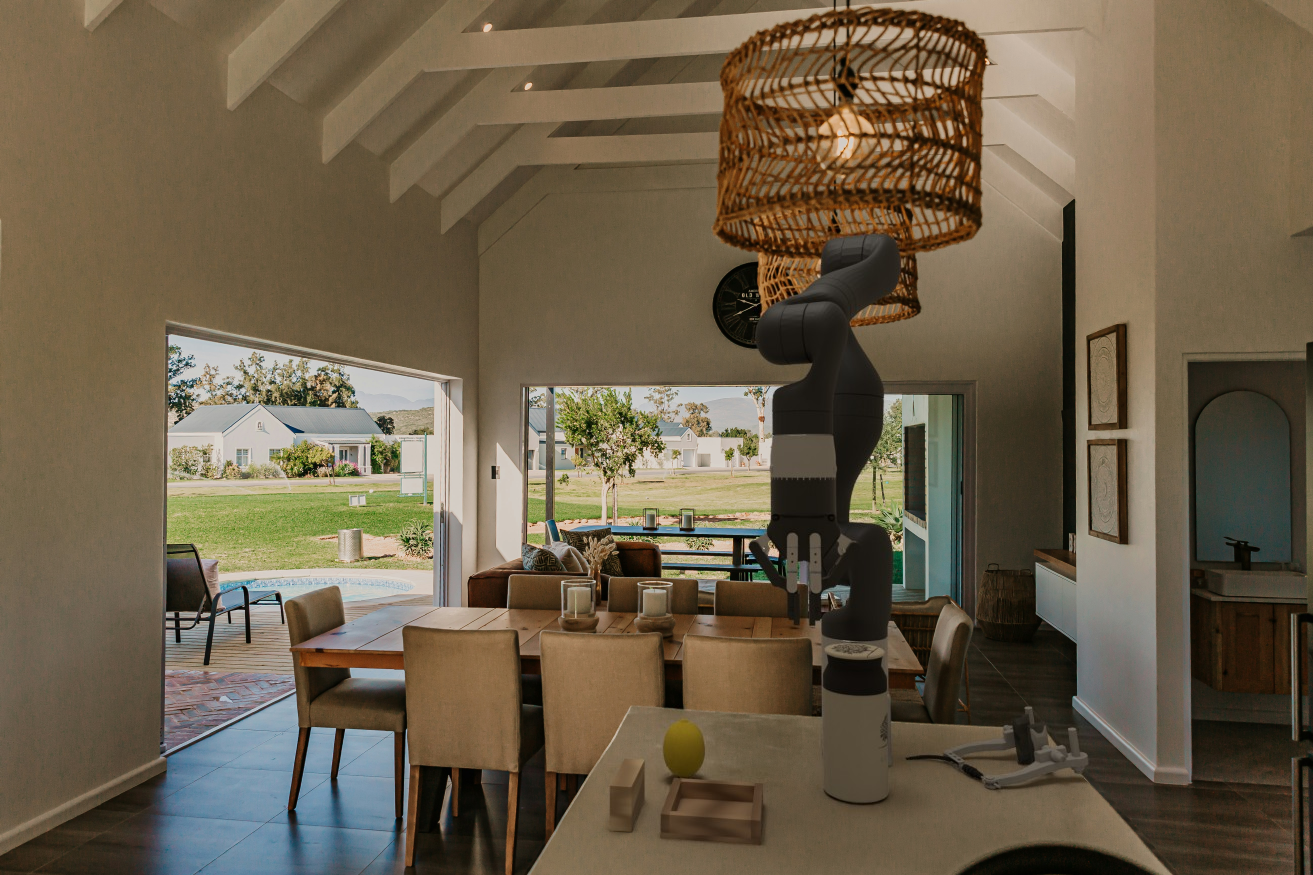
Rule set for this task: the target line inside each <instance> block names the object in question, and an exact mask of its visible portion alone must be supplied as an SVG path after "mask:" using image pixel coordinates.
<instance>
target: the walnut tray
mask: <svg viewBox="0 0 1313 875" xmlns="http://www.w3.org/2000/svg"><path fill="white" fill-rule="evenodd" d="M763 813H764V783H762V782H761V783H760V782H749V781H748V782H747V781H746V782H744V781H732V780H731V781H728V780H713V779H712V780H711V779H698V778H697V779H696V778H694V779H693V778H687V779H682V778H680V777H674V778H673V779H672V782H671V785H670V788H669V791H668V793H667V796H666V799H665V800H664V804H663V806H662V809H661V812H660V839H666V840H667V839H668V840H679V841H682V840H683V841H695V842H709V843H710V842H711V843H712V842H713V843H725V844H737V845H738V844H739V845H741V844H742V845H754V846H755V845H756V846H760V845H761V842H762V841H761V838H762V825H763V823H762V822H763Z"/></svg>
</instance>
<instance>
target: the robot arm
mask: <svg viewBox="0 0 1313 875" xmlns="http://www.w3.org/2000/svg"><path fill="white" fill-rule="evenodd" d="M820 257H821V258H820V277H819V278H817V279H815V280H814V281H813V282H811V284H809V285H808V286H807V287H806V288H805V289H804V290H803V291H802V292H801V293H797V294H795V295H792V296H789V297H787V298H784V299H782V300H779V301H778V302H776V303H773V304H771V305H770V306H769V307H768V308H766V310H765V311H763V313H761V315H760V318H759V320H758V322H757V324H756V329H755V335H754V336H755V337H754V338H755V344H756V349H757V351H758V352H759V354H760V356H761V357H763V359H764V360H766V361H767V362H768V363H771V364H772V365H776V366H791V365H807V364H811V366H810V368H809V371H808V373H807V374H806V376H805V377H804V378H803V379H800V380H798V381H796V382H792V383H787V384H784V385H782V386H779V387H777V388H776V389H775V390H774V392H773V393H772V401H771V405H772V406H771V407H772V408H771V410H772V411H771V413H772V415H771V416H772V419H771V422H772V423H771V424H772V426H771V427H772V428H771V429H772V437H771V448H770V458H769V459H770V460H769V462H770V465H769V473H770V474H769V475H770V477H769V478H770V521H769V523H768V525H767V526H766V532H765V533H763V534H762V535H760V536H759V537H758V538H756V539H752V540H749V541H750V542H749V543H748V546H747V547H748V550H749V551H750V553H751V554H752V557H754V559H755V561H756V562H757V564H758V565H759V567H760V569H761V570H762V571H763V573H764V575H765V576H766V578H767V580H768V581H769V582H770V584H771V585H772V587H773V588H774V587H775V588H779V589H782V590H784V591H785V592H786V596H787V597H786V598H787V599H786V600H787V603H786V604H787V607H786V610H787V612H786V613H787V618H788V621H793V626H801V621H800V620H801V618H800V617H801V614H800V612H801V609H800V603H801V601H800V599H801V598H800V595H801V594H800V591H799V587H798V573H799V572H798V569H799V567H798V565H799V563H800V562H807V563H809V586H810V587H809V590H808V627H809V626H810V627H816V622H819V621H820V623H821V624H820V628H821V629H820V630H821V631H820V633H821V643H820V644H821V648H820V649H821V746H822V749H821V750H822V756H823V672H824V670H825V668H826V666H827V664H828V659H827V654H826V653H825V651H824V649H825V648H826V647H827V646H829V645H833V644H843V643H854V644H866V645H872V646H876V647H879V648H881V649H883V650H884V651H885V654H884V656H883V658H882V664H881V666H882V668H883V670H884V672H885V674H886V676H887V713H888V767H889V766H892V716H891V714H892V708H891V704H892V703H891V701H892V699H891V695H890V692H889V652H888V651H889V638H888V636H889V635H888V633H889V627H888V626H889V623H890V618H891V615H892V606H893V584H894V583H893V580H894V550H893V548H894V547H893V543H892V542H893V541H892V540H891V536H890V534H889V532H888V530H886V528H885V527H884V526H882V525H880V524H878V523H872V522H857V521H850V513H851V512H850V510H851V501H852V494H853V491H854V488H855V485H856V482H857V480H858V478H859V476H860V474H862V471H863V469H864V467H865V466H866V465H867V463H868V461H869V460H870V458H871V456H872V455H873V453H874V451H875V450H876V447H877V446H878V444H879V441H880V439H881V437H882V434H883V430H884V414H885V412H884V411H885V388H884V384H883V381H882V379H881V377H880V374H879V373H878V371H877V369H876V368H875V366H874V364H873V363H872V361H871V359H870V358H869V357H868V355H867V354H866V352H865V350H864V349H863V348H862V346H861V345H860V342H859V341H858V339H857V337H856V335H855V333H854V331H853V329H852V326H851V322H852V321H853V319H854V318H855V316H857V315H858V314H859V313H861V312H862V311H863V310H864V309H866V308H868V307H869V306H870V305H872V304H874V303H876V302H877V301H879V300H881V299H883V298H885V297H887V296H889V295H890V294H891V293H894V291H895V289H896V288H897V287H898V284H899V281H900V277H901V271H902V270H901V267H902V266H901V265H902V264H901V254H900V249H899V245H898V243H897V241H896V239H894V237H893V236H891V235H889V234H887V233H879V232H878V233H868V234H867V233H866V234H860V235H857V234H856V235H850V236H839V237H833V238H831V239H830V238H829V239H828V240H827V241H826V242H825V244H824V245H823V247H822V252H821V256H820ZM770 541H771V544H772V545H773V546H774V548H776V550H777V551H778V553H779V554H780V555H781V557H782V558H783V559H784V560H785V561H786V576H784V575H781V574H780V573H779V571H778V569H777V568H776V567H775V564H773V561H772V560H771V559H770V557H769V556H768V554H769V552H770V545H769V542H770ZM837 586H840V587H841V586H843V587H849V595H848V596H849V597H848V601H847V603H845V605H844V606H842V607H840V608H836V609H832V610H828V611H826V612H825V613H823V615H822V594H823V593H824V591H826V590H830V589H834V588H835V587H837Z"/></svg>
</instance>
